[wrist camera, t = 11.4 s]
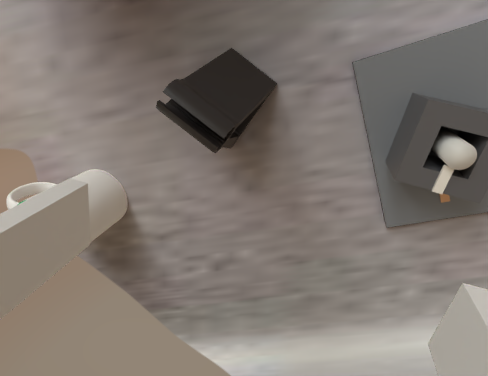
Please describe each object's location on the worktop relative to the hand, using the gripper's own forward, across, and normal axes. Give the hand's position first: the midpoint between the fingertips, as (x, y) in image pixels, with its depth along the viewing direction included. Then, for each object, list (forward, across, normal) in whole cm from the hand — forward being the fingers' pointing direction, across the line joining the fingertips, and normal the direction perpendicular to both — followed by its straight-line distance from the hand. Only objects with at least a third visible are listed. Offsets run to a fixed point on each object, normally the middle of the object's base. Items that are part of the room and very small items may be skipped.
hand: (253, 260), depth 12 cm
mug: (+27, -27, -17) cm, 41 cm away
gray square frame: (+25, +13, +1) cm, 28 cm away
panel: (+27, +13, +1) cm, 30 cm away
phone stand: (+27, -8, 0) cm, 28 cm away
